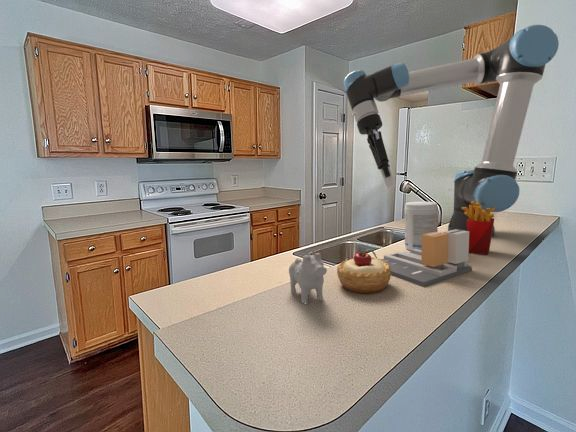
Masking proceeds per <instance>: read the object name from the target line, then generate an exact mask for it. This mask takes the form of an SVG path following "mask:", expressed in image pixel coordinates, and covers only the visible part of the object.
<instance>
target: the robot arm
mask: <svg viewBox="0 0 576 432" xmlns="http://www.w3.org/2000/svg"><path fill="white" fill-rule="evenodd" d="M558 49H559V37H558V35H557V34H556V33H555V32H554V30H553V29H552V28H551V27H549V26H547V25H543V24H533V25H530V26H529V25H528V26H527V27H525V28H523V29H520V30H518V31H517V32H516V33H515V34H513V36H511V37H510V38H508V39H506V41H504V42H503V43H501V44H500V45H498V46H496V47H495V48H493V49H491V50H489V51H486V52H483V53H478V54H475V56H474V57H473V58H470V59H469V58H468V59H465V60H461V61H456V62H451V63H445V64H440V65H436V66H431V67H425V68H422V69H418V70H413V71H409V70H408V67H407V65H406V64H405V63H404V62H398V63H395V64H391V65H390V66H387V67H385V68H382V69H380V70H377V71H375V72H373V73H366V72H365V71H364V70H361V69H359V70H354V71H351V72H350V73H348V74H347V75H346V76H345V77H344V79H343V86H344V89H345V93H346V97H347V100H348V102H349V105H350V108H351V111H352V113H351V116H352V117H354V120H355V122H356V126H357V129H358V133H359V134H360V135H367V138H366V140H367V143H368V147H369V149H370V151H371V154H372V156H373V159H374V162H375V164H376V168H377V170H379V171H380V175H381V177H382V178H381V179H382V181H383V184H384V187H385V189H386V190H389V189H392V188H395V187H396V183H395V180H394V177H393V174H392V171H391V165H390V163H389V162H390V159H389V158H388V154H387V150H386V147H385V144H384V139H383V135H382V131H380V129H381V128H382V127H383V121H382V119H381V115H380V114H379V109H378V106H377V103H376V101H377V102H381V103H382V102H386V101H388V100H390V99H395V98H399V97H403V96H409V95H414V94H419V93H423V92H430V91H436V90H441V89H444V88H445V89H446V88H450V87H456V86H460V85H461V86H462V85H465V84H471V83H474V84H475V85H481V84H482V85H483V84H488V83H493V82H494V83H495V82H498V84H499V87H498V92H497V97H496V100H495V105H494V109H493V112H492V113H493V114H492V117H491V120H490V121H491V122H490V126H489V129H488V133H487V139H486V141H485V142H486V143H485V145H484V146H485V147H484V150H483V155H482V158H481V162H480V163H478V164H476V165H475V166H474V169H469V170H461V171H457V172H456V174H455V175H454V180H453V186H454V189H453V192H454V193H453V213H452V215H451V218H450V220H449V223H448V225H447V231H451V230H455V229H457V230H463V231H467V220H468V219H469V217H468V216H467V215H465V214H464V212H465V211H464V210H462V207H467V208H468V209H469V205H472V204H471V202H472V201H474V202H475V203H480V205H481V207H482V209H483V210H485V211H486V212H487V208H490V209H492V208H495V210H494V211H492V212H491V213H501V212H504V211H506V210H508V209H510V208H511V207H512V206H513V205H515V204H516V202H517V201H518V199H519V196H520V187H519V184H518V182H517V180H516V179H517V174H518V170H517V169H516V168H515V166H514V163H515V159H516V155H517V152H518V148H519V144H520V140H521V136H522V132H523V128H524V124H525V120H526V116H527V113H528V108H529V106H530V105H529V104H530V101H531V97H532V93H533V90H534V86H535V84H537V83H538V82H540V81H541V80H542V79H543V76H544V72H545V69H546V64H548V63H550V62H551V61H552V60H553V58H555V56H556V54H557V52H558ZM472 206H473V205H472ZM474 215H475V210H474ZM479 218H480V214H479ZM495 231H496V227H495V225H494V224H493V231H492V237H493V236H495Z"/></svg>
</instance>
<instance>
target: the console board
mask: <svg viewBox="0 0 576 432" xmlns="http://www.w3.org/2000/svg"><path fill="white" fill-rule="evenodd" d="M442 233H446V234H448V248H447V263H446V264H443V265H442V270H439V269H436V268H433V267H429V266H426V265H424V264H421V252H422V250H418V249H414V250H412V251H410V252H409V251H403V252H402V251H401V252H400V251H397V252H393V253H388V254H384V255H383V258H382V259H380V260H381V261H385V262H386V263H388V264H389V266H390V267H391V276H394V277H396V278H399V279H402V280H404V281H407V282H409V283H413V284H415V285H418V286H421V287H426V286H429V285H432V284H435V283H438V282H441V281H445V280H448V279H451V278H454V277H457V276H459V275H463V274H466V273H469V272H471V271H473V266H470V265H469V252H468V251H469V231H463V230H457V229H455V230H451V231H448V230H447V231H444V232H443V231H442Z"/></svg>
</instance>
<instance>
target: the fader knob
mask: <svg viewBox="0 0 576 432" xmlns="http://www.w3.org/2000/svg"><path fill="white" fill-rule="evenodd" d="M447 248H448V234H446V233H443V231H442V232H440V231H437V232H431V233H427V234H422V252H421V264H424V265H426V266H429V267H433V268H436V269H439V270H442V265H443V264H446V263H447Z"/></svg>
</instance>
